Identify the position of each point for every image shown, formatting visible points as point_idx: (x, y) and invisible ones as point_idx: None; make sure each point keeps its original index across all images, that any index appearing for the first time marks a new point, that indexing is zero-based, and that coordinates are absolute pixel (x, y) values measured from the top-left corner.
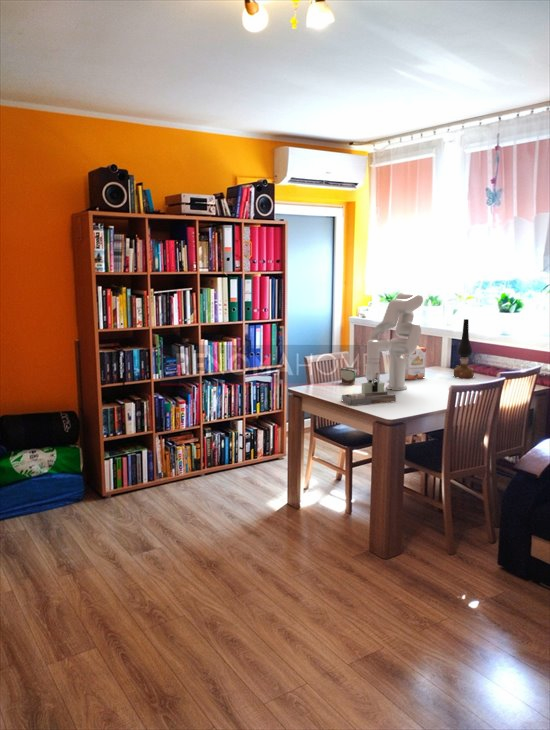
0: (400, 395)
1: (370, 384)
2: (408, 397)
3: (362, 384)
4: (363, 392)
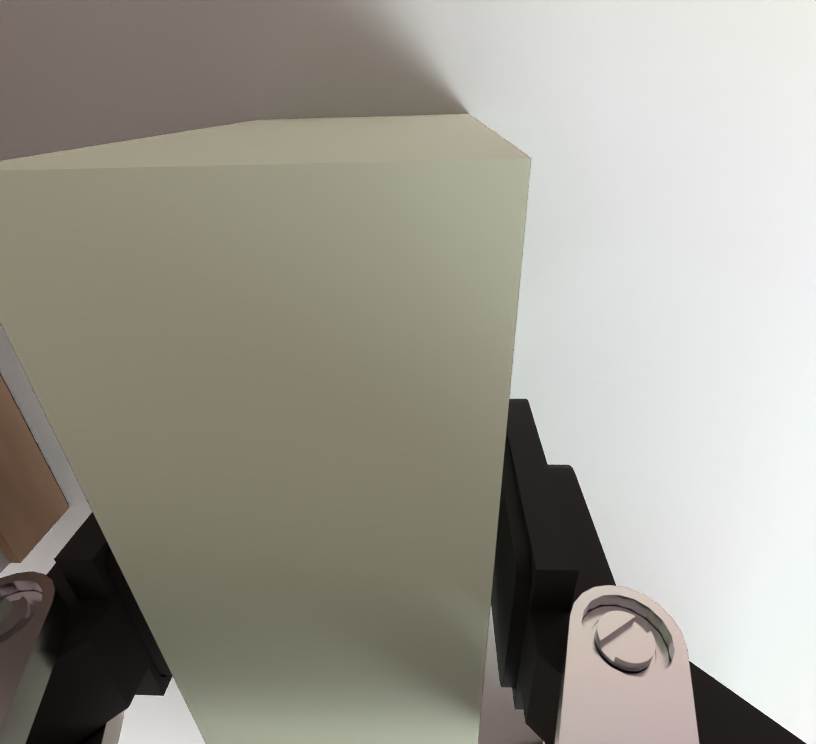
0: None
1: (124, 536)
2: None
3: (377, 155)
4: (307, 121)
